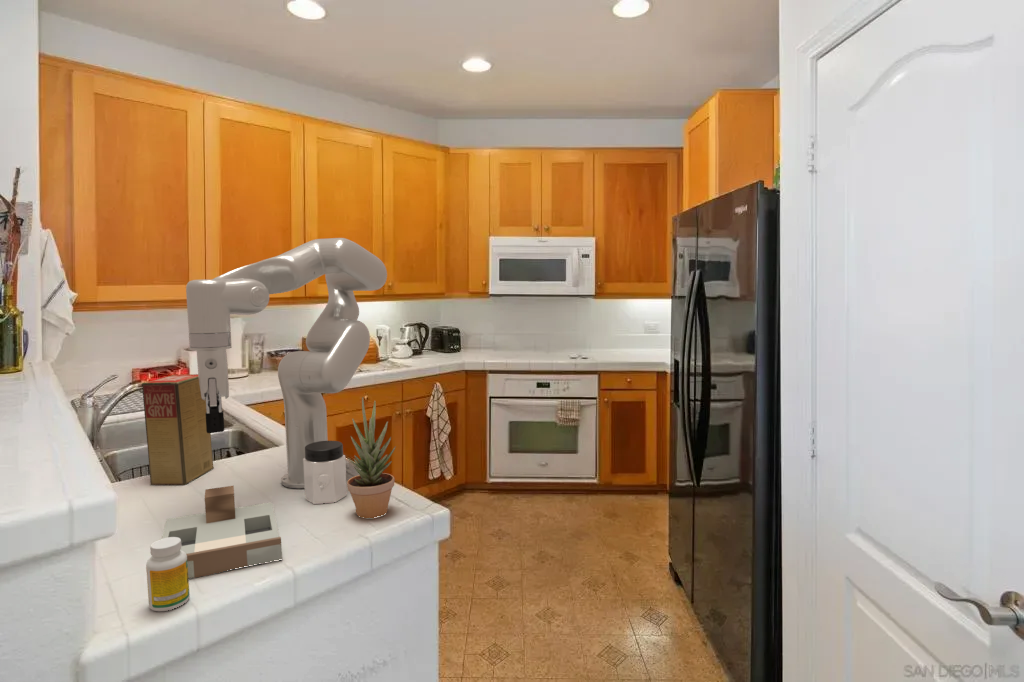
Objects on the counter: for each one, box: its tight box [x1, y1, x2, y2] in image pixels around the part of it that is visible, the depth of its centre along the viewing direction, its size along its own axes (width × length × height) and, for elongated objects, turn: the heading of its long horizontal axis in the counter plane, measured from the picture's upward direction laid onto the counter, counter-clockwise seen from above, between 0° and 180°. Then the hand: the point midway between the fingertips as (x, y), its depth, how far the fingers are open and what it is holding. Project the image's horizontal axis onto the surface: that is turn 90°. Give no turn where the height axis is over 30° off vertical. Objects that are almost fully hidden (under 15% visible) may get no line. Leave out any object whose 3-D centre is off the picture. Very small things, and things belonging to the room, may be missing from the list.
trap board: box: [161, 501, 283, 580], centre depth 109 cm, size 19×22×4 cm
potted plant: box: [346, 396, 397, 519], centre depth 123 cm, size 10×10×25 cm
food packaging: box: [141, 373, 215, 486], centre depth 149 cm, size 13×9×25 cm
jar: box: [303, 440, 348, 505], centre depth 133 cm, size 9×8×12 cm
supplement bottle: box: [145, 537, 191, 612], centre depth 90 cm, size 5×5×10 cm
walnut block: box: [204, 485, 236, 523], centre depth 116 cm, size 5×5×5 cm
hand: (215, 431), depth 121 cm, fingers closed
